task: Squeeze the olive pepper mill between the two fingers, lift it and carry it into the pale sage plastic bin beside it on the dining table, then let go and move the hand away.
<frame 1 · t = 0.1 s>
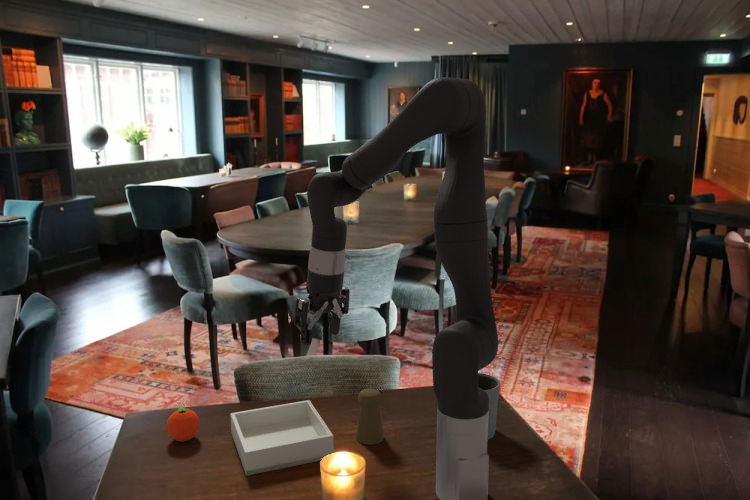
hand: (320, 338, 135), 22 cm above the table, tool pointing down, fingers open, 8 cm apart
serving bin: (280, 445, 135), on the table
olive pepper mill: (370, 438, 138), on the table
grey round pot: (475, 431, 141), on the table
clementine: (184, 439, 138), on the table
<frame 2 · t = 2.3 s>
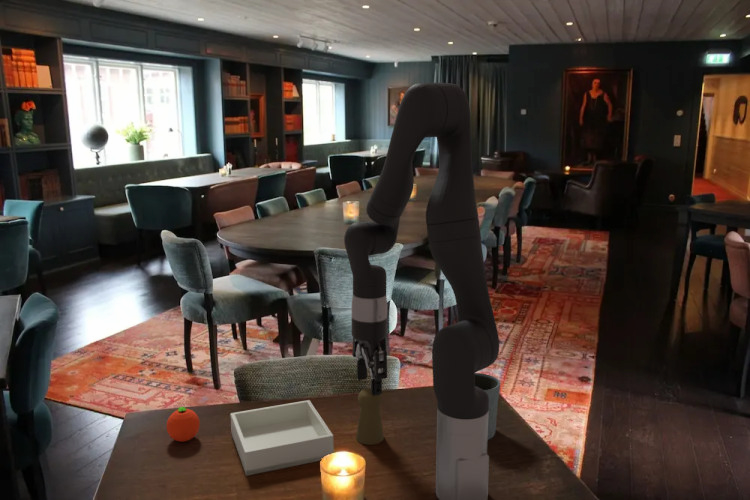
hand: (368, 386, 136), 12 cm above the table, tool pointing down, fingers open, 8 cm apart
nothing on the table moved.
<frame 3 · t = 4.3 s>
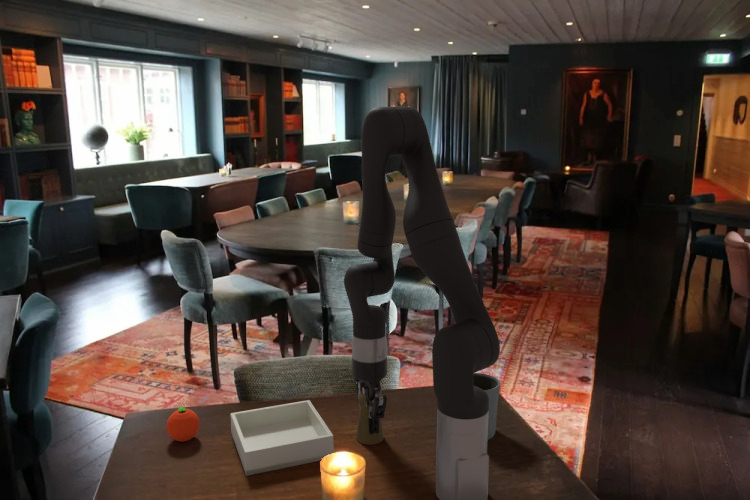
hand: (369, 428, 137), 2 cm above the table, tool pointing down, fingers closed on olive pepper mill, 4 cm apart
olive pepper mill: (369, 438, 138), on the table, touching gripper
everything else where it was.
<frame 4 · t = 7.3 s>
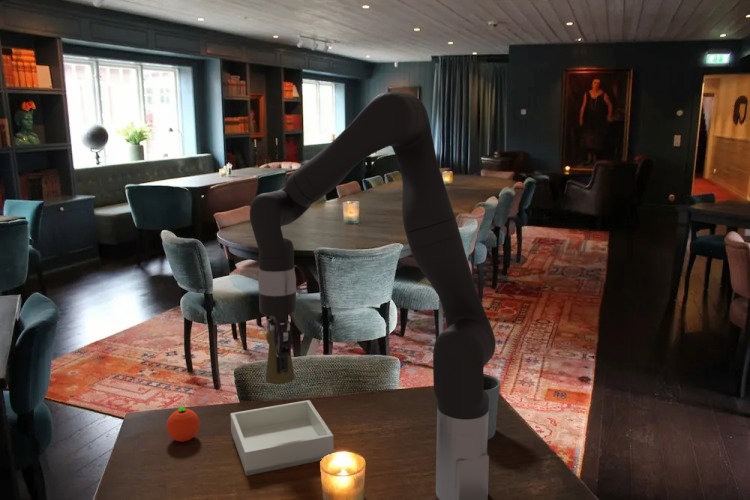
hand: (279, 368, 131), 17 cm above the table, tool pointing down, fingers closed on olive pepper mill, 4 cm apart
olive pepper mill: (280, 379, 132), point 15 cm above the table, touching gripper
everything else where it was.
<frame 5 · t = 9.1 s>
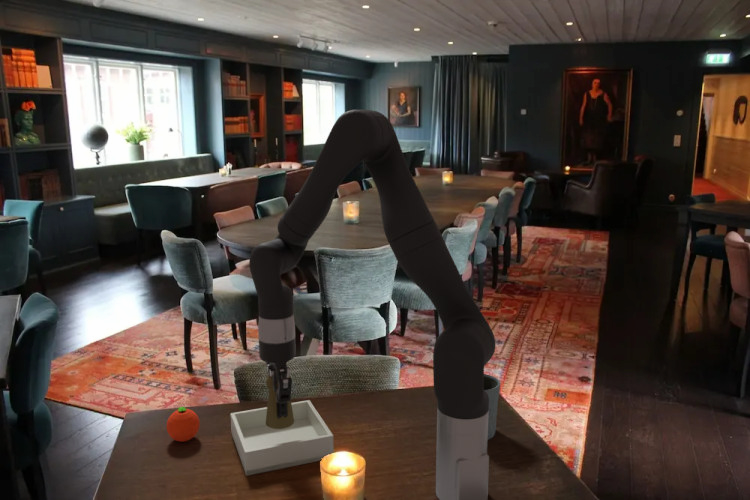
hand: (279, 412, 133), 8 cm above the table, tool pointing down, fingers closed on olive pepper mill, 4 cm apart
olive pepper mill: (280, 422, 134), point 5 cm above the table, touching gripper
everything else where it was.
when the fingers open (5 cm above the table, at t = 10.4 s): olive pepper mill drops 2 cm, resting on serving bin.
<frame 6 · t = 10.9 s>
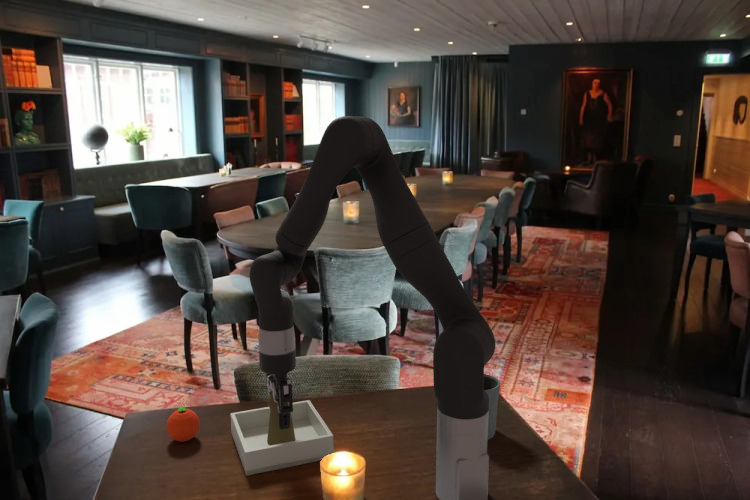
hand: (279, 419, 133), 6 cm above the table, tool pointing down, fingers open, 8 cm apart
olive pepper mill: (281, 441, 135), point 1 cm above the table, touching serving bin
everything else where it was.
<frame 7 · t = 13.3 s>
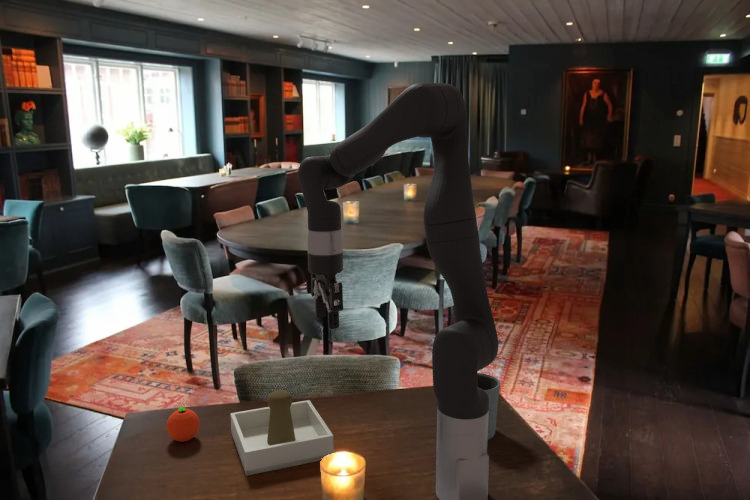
hand: (327, 322, 137), 25 cm above the table, tool pointing down, fingers open, 8 cm apart
nothing on the table moved.
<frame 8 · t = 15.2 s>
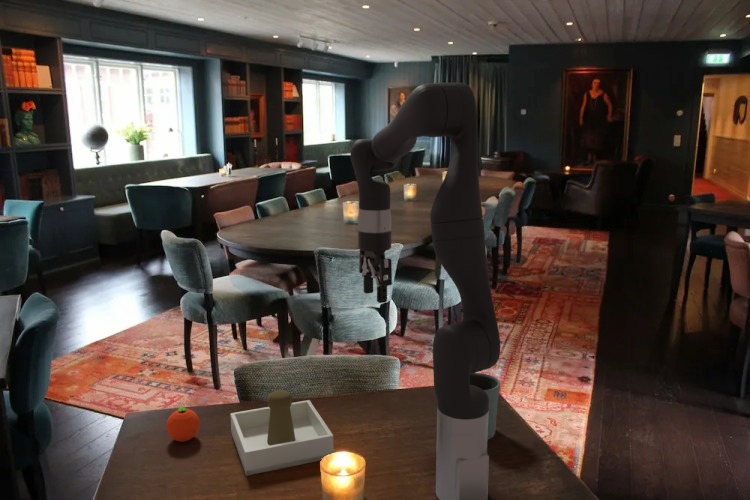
hand: (374, 297, 145), 28 cm above the table, tool pointing down, fingers open, 8 cm apart
nothing on the table moved.
at the end: olive pepper mill inside the target area on the serving bin (0.3 cm from its centre), point 0.8 cm above the serving bin's base; olive pepper mill tilted 0°; the gripper is holding nothing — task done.
